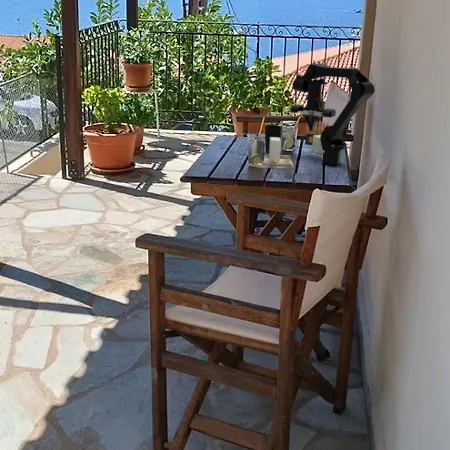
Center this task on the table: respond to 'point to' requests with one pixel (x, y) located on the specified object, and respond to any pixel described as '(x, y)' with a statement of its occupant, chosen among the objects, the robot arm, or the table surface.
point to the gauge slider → (274, 149)
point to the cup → (271, 134)
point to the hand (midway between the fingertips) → (311, 130)
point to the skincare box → (317, 145)
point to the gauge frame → (283, 163)
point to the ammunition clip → (310, 134)
